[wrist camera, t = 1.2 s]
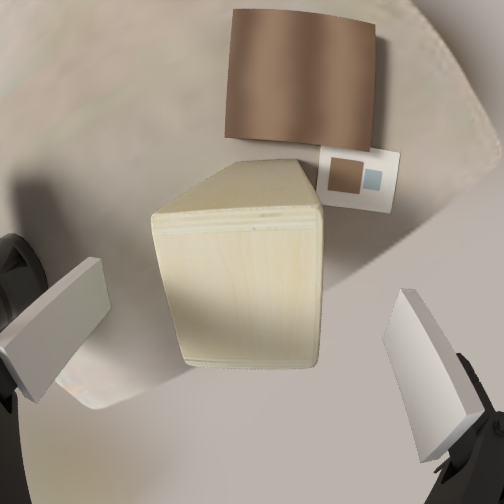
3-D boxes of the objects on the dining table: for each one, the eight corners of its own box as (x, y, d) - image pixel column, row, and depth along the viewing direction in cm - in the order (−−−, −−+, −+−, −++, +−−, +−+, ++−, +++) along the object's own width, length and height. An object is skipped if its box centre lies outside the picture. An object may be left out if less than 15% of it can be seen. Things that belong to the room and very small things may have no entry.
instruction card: (314, 203, 30) (314, 204, 30) (321, 139, 28) (321, 139, 27) (389, 213, 30) (390, 213, 30) (399, 153, 27) (400, 153, 27)
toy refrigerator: (227, 160, 29) (131, 216, 10) (296, 156, 29) (330, 204, 9) (234, 230, 33) (173, 368, 13) (299, 228, 32) (320, 371, 13)
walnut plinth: (229, 137, 28) (224, 137, 26) (237, 19, 23) (233, 9, 20) (361, 150, 28) (369, 152, 25) (367, 33, 22) (375, 24, 19)
